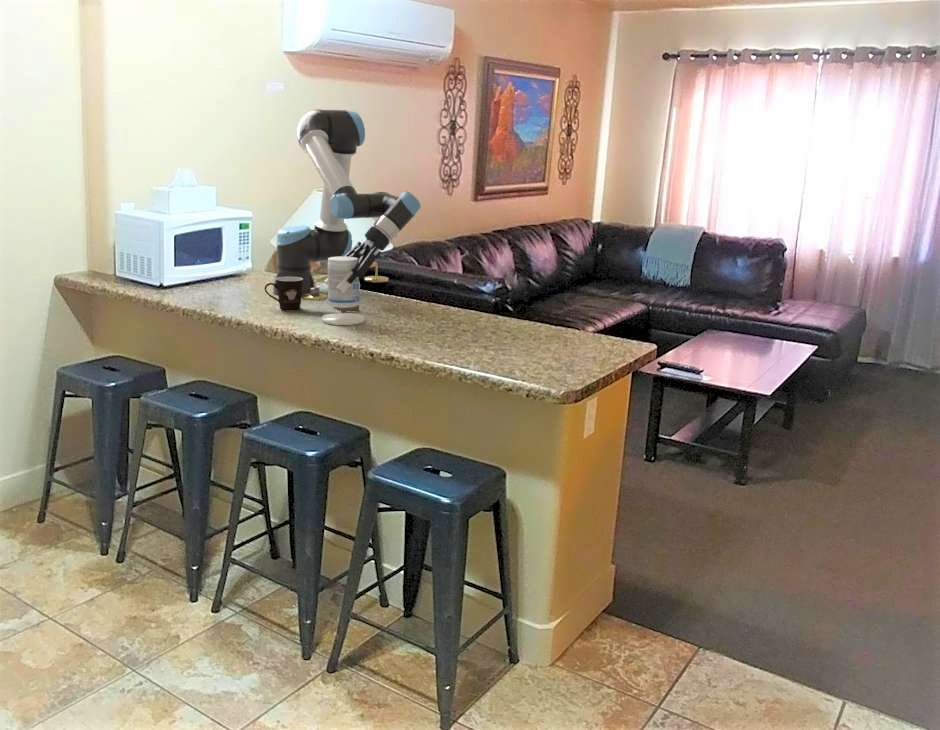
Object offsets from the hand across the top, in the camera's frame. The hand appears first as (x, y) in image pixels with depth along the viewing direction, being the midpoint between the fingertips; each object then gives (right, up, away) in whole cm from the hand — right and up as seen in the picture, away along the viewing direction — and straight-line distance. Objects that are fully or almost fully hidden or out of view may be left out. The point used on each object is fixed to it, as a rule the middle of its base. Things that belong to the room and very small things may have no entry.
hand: (333, 287), depth 274 cm
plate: (+2, -10, +5) cm, 11 cm away
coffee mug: (-19, -6, +20) cm, 28 cm away
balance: (+1, -5, +22) cm, 22 cm away
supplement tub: (+2, -6, +3) cm, 7 cm away
